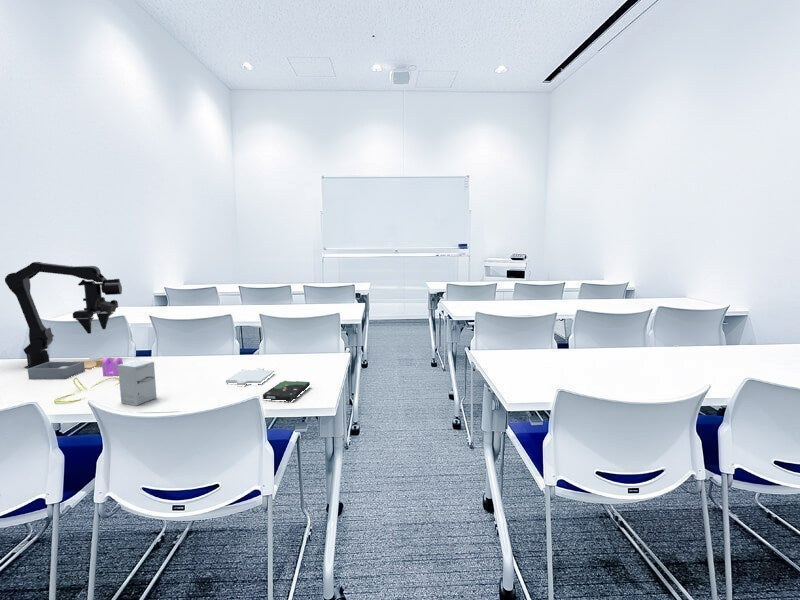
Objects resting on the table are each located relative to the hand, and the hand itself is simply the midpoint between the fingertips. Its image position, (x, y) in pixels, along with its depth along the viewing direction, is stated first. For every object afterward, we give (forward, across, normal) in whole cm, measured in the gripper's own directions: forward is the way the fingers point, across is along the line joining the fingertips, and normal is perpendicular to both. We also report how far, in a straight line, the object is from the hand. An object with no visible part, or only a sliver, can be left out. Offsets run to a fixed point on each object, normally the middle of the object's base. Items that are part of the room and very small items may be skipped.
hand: (96, 331), depth 188 cm
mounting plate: (+14, -27, -75) cm, 81 cm away
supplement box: (+13, -49, -46) cm, 68 cm away
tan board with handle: (+13, -8, -1) cm, 15 cm away
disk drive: (+14, -43, -93) cm, 103 cm away
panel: (+13, -21, +2) cm, 25 cm away
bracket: (+13, -16, -20) cm, 29 cm away
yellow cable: (+14, -39, -23) cm, 47 cm away
